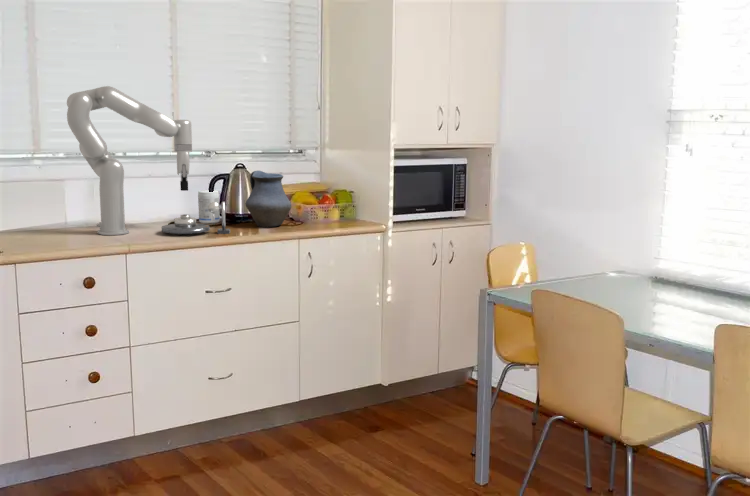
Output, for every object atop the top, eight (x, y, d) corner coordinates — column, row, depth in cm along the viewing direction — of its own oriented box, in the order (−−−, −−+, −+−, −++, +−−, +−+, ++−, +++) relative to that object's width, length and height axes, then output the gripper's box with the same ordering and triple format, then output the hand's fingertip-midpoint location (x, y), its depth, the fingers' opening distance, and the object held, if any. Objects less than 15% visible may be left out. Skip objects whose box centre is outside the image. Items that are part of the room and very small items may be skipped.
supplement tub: (213, 220, 365) (213, 189, 363) (223, 222, 358) (222, 191, 356) (195, 221, 359) (194, 190, 357) (204, 224, 352) (203, 192, 349)
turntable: (151, 231, 322) (151, 227, 322) (185, 225, 339) (185, 221, 339) (186, 235, 313) (186, 231, 312) (219, 229, 330) (219, 225, 329)
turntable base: (168, 233, 324) (168, 231, 324) (185, 230, 333) (185, 228, 333) (186, 235, 320) (186, 233, 319) (202, 232, 328) (202, 230, 328)
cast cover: (170, 225, 327) (170, 215, 327) (185, 223, 335) (184, 212, 334) (185, 227, 323) (185, 216, 322) (200, 225, 331) (200, 214, 330)
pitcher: (266, 230, 336) (265, 174, 331) (234, 225, 350) (233, 171, 345) (300, 226, 351) (300, 171, 347) (268, 221, 365) (268, 169, 361)
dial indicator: (230, 232, 331) (229, 201, 328) (229, 233, 326) (228, 202, 324) (209, 232, 330) (208, 201, 327) (208, 233, 325) (207, 202, 323)
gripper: (174, 147, 339) (175, 188, 342) (174, 149, 324) (175, 192, 328) (191, 147, 340) (192, 188, 344) (192, 149, 326) (193, 192, 329)
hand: (184, 190), depth 336 cm, fingers closed
